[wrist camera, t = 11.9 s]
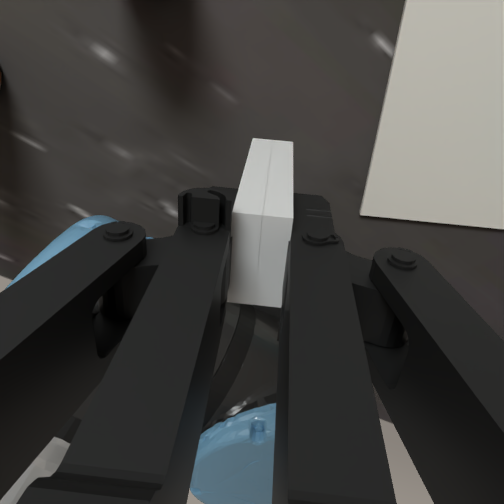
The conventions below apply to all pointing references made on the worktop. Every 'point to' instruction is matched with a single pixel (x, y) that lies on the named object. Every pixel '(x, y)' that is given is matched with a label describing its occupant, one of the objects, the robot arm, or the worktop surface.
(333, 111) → the worktop surface
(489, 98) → the board
